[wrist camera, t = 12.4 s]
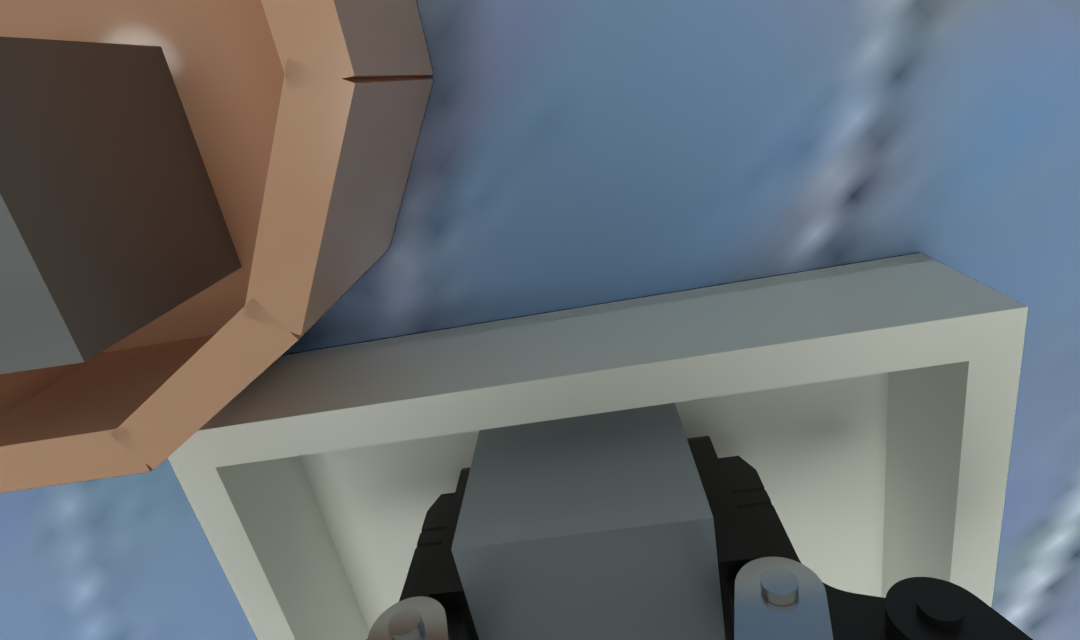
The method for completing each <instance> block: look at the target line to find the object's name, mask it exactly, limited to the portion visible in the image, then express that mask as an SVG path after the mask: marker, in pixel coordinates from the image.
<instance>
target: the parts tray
mask: <svg viewBox="0 0 1080 640" xmlns="http://www.w3.org/2000/svg"><path fill="white" fill-rule="evenodd" d="M1027 313H1028V306H1026V305H1024V304H1022V303H1020V302H1018V301H1016V300H1014V299H1012V298H1010V297H1008V296H1006V295H1004V294H1002V293H1000V292H998V291H996V290H994V289H992V288H990V287H988V286H986V285H984V284H982V283H980V282H978V281H976V280H974V279H972V278H970V277H968V276H966V275H964V274H962V273H960V272H958V271H956V270H954V269H952V268H950V267H948V266H947V265H945V264H943V263H941V262H939V261H937V260H935V259H933V258H931V257H929V256H927V255H925V254H923V253H916V254H910V255H904V256H898V257H891V258H885V259H879V260H873V261H867V262H860V263H854V264H848V265H842V266H835V267H829V268H823V269H817V270H811V271H804V272H798V273H792V274H786V275H779V276H773V277H767V278H761V279H755V280H748V281H742V282H736V283H730V284H723V285H717V286H711V287H705V288H699V289H692V290H686V291H680V292H674V293H667V294H661V295H655V296H649V297H643V298H636V299H630V300H624V301H618V302H611V303H605V304H599V305H593V306H587V307H580V308H574V309H568V310H562V311H555V312H549V313H543V314H537V315H531V316H524V317H518V318H512V319H506V320H499V321H493V322H487V323H481V324H474V325H468V326H462V327H456V328H450V329H443V330H437V331H431V332H425V333H418V334H412V335H406V336H400V337H394V338H387V339H381V340H375V341H369V342H362V343H356V344H350V345H344V346H338V347H331V348H325V349H319V350H313V351H306V352H300V353H294V354H288V355H282V356H280V357H279V358H278V359H277V360H276V361H275V362H273V363H272V364H271V365H270V366H269V367H268V368H267V369H266V370H265V371H263V372H262V373H261V374H260V375H259V376H258V377H257V378H256V379H255V380H253V381H252V382H251V383H250V384H249V385H248V386H247V387H246V388H245V389H243V390H242V391H241V392H240V393H239V394H238V395H237V396H236V397H235V398H233V399H232V400H231V401H230V402H229V403H228V404H227V405H226V406H224V407H223V408H222V409H221V410H220V411H219V412H218V413H217V414H216V415H214V416H213V417H212V418H211V419H210V420H209V421H208V422H207V423H206V424H204V425H203V426H202V427H201V428H200V429H199V430H198V431H197V432H196V433H194V434H193V435H192V436H191V437H190V438H189V439H188V440H187V441H186V442H184V443H183V444H182V445H181V446H180V447H179V448H178V449H177V450H176V451H174V452H173V453H172V454H171V455H170V456H169V457H168V460H169V462H170V464H171V466H172V468H173V470H174V472H175V474H176V476H177V478H178V480H179V482H180V484H181V486H182V488H183V490H184V492H185V494H186V496H187V498H188V500H189V502H190V504H191V506H192V508H193V510H194V512H195V514H196V516H197V518H198V520H199V522H200V524H201V526H202V528H203V530H204V532H205V534H206V536H207V538H208V540H209V542H210V544H211V546H212V548H213V550H214V552H215V555H216V557H217V559H218V561H219V563H220V565H221V567H222V569H223V571H224V573H225V575H226V577H227V579H228V581H229V583H230V585H231V587H232V589H233V591H234V593H235V595H236V597H237V599H238V601H239V603H240V605H241V607H242V609H243V611H244V613H245V615H246V617H247V619H248V621H249V623H250V625H251V627H252V629H253V631H254V633H255V635H256V637H257V639H258V640H366V639H368V635H369V632H370V629H371V627H372V626H373V624H374V622H375V621H376V620H377V618H378V617H379V616H380V615H381V614H382V613H383V612H384V611H385V610H387V609H388V608H389V607H391V606H392V605H394V604H396V603H397V602H399V600H400V596H401V593H402V590H403V587H404V584H405V580H406V577H407V574H408V571H409V568H410V564H411V561H412V558H413V555H414V552H415V548H417V542H418V539H419V536H420V533H422V530H421V529H422V526H423V523H424V520H425V516H426V513H427V511H428V510H429V508H430V507H431V506H432V505H433V503H434V502H435V501H436V500H437V499H438V497H439V496H440V495H441V494H446V493H454V492H455V491H456V487H457V483H458V480H459V476H460V472H461V470H462V469H463V468H468V467H471V464H472V459H473V455H474V451H475V447H476V442H477V438H478V434H479V430H484V429H492V428H499V427H506V426H513V425H520V424H527V423H534V422H541V421H548V420H555V419H562V418H569V417H576V416H583V415H590V414H597V413H604V412H612V411H619V410H626V409H633V408H640V407H647V406H654V405H661V404H668V403H675V405H676V408H677V411H678V414H679V417H680V420H681V423H682V426H683V429H684V432H685V435H686V438H693V437H700V436H709V437H710V439H711V442H712V444H713V447H714V449H715V452H716V454H717V457H718V458H724V457H732V456H740V457H741V458H742V459H743V460H745V461H746V462H747V463H748V464H750V465H751V466H752V467H753V468H755V469H756V471H757V473H758V475H759V477H760V479H761V481H762V483H763V485H764V488H765V490H766V491H767V494H768V496H769V498H770V500H771V503H772V505H773V506H774V508H775V510H776V512H777V514H778V516H779V518H780V521H781V523H782V525H783V527H784V529H785V531H786V533H787V535H788V537H789V539H790V541H791V543H792V545H793V548H794V550H795V552H796V554H797V556H798V558H799V560H800V561H801V563H802V564H803V565H805V566H807V567H808V568H810V569H811V570H812V571H813V572H814V573H815V574H816V575H817V576H818V577H819V578H820V579H821V581H822V582H823V583H825V584H827V585H829V586H831V587H834V588H836V589H839V590H843V591H846V592H851V593H856V594H863V595H869V596H876V597H883V598H886V595H887V592H888V591H889V589H890V588H891V587H892V586H893V585H894V584H895V583H897V582H899V581H900V580H903V579H906V578H912V577H931V578H937V579H942V580H945V581H948V582H951V583H954V584H956V585H958V586H961V587H962V588H964V589H966V590H968V591H969V592H971V593H972V594H974V595H975V596H977V597H978V598H979V599H981V600H982V601H983V602H985V603H986V604H987V605H988V606H990V607H991V606H992V598H993V590H994V582H995V573H996V565H997V557H998V549H999V541H1000V533H1001V525H1002V516H1003V508H1004V500H1005V492H1006V484H1007V476H1008V468H1009V459H1010V451H1011V443H1012V435H1013V427H1014V419H1015V411H1016V402H1017V394H1018V386H1019V378H1020V370H1021V362H1022V354H1023V345H1024V337H1025V329H1026V321H1027Z"/></svg>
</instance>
